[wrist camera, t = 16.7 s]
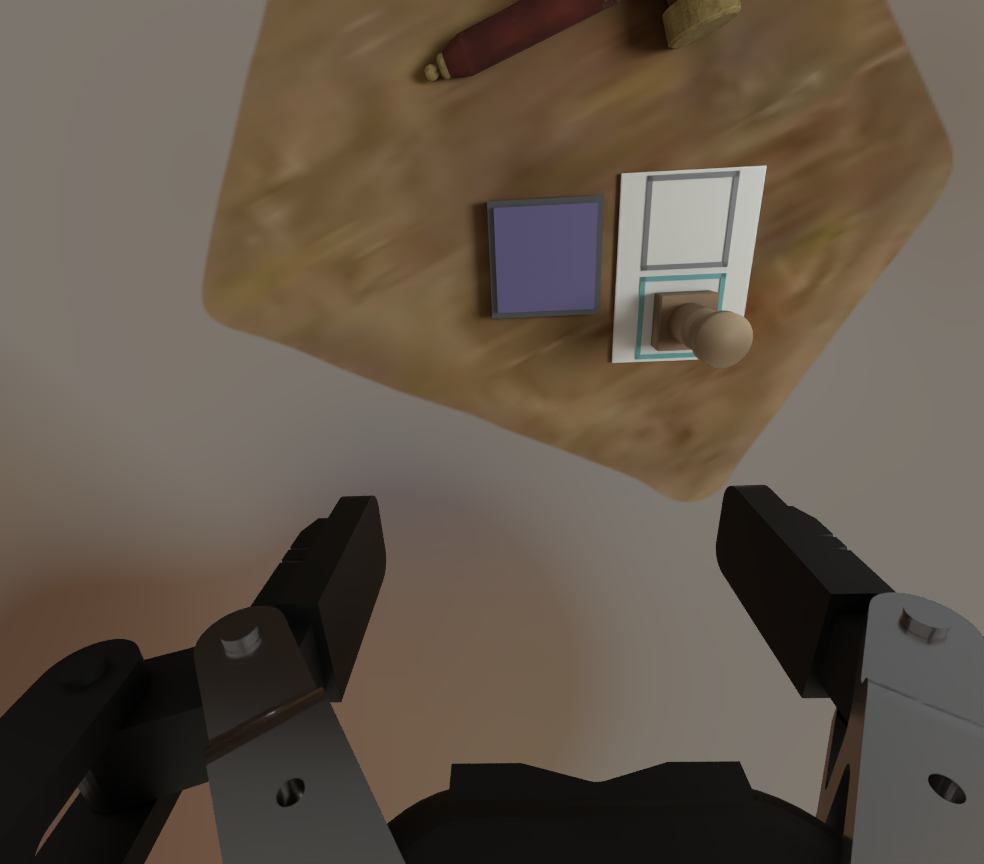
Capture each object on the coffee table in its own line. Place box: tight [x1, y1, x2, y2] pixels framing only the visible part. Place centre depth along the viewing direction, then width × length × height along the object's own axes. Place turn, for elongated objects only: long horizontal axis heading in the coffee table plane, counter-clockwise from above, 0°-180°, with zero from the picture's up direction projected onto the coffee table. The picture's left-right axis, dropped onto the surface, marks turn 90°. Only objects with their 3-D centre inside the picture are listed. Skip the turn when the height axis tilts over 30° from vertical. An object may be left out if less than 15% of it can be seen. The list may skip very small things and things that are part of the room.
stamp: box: [651, 290, 753, 368], centre depth 37 cm, size 4×4×9 cm
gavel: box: [424, 0, 741, 81], centre depth 33 cm, size 21×5×10 cm
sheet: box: [612, 166, 767, 363], centre depth 40 cm, size 15×11×1 cm
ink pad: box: [487, 195, 604, 319], centre depth 39 cm, size 9×9×2 cm
